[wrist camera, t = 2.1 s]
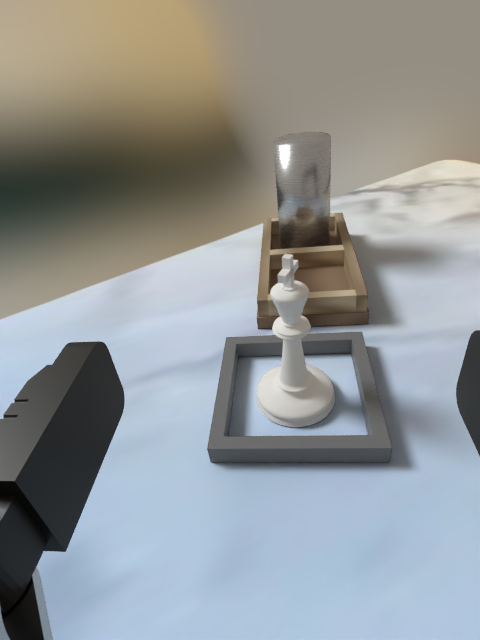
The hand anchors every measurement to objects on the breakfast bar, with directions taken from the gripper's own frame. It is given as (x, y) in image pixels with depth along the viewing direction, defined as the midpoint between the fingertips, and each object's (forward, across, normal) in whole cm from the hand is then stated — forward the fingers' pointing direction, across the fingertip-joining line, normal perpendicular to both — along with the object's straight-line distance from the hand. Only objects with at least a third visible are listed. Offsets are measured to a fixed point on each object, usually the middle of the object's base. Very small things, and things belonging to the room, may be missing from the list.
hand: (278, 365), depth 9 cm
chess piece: (+12, 0, +13) cm, 18 cm away
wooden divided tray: (+27, -2, +13) cm, 30 cm away
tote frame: (+12, 0, +13) cm, 17 cm away
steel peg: (+30, -2, +12) cm, 33 cm away
